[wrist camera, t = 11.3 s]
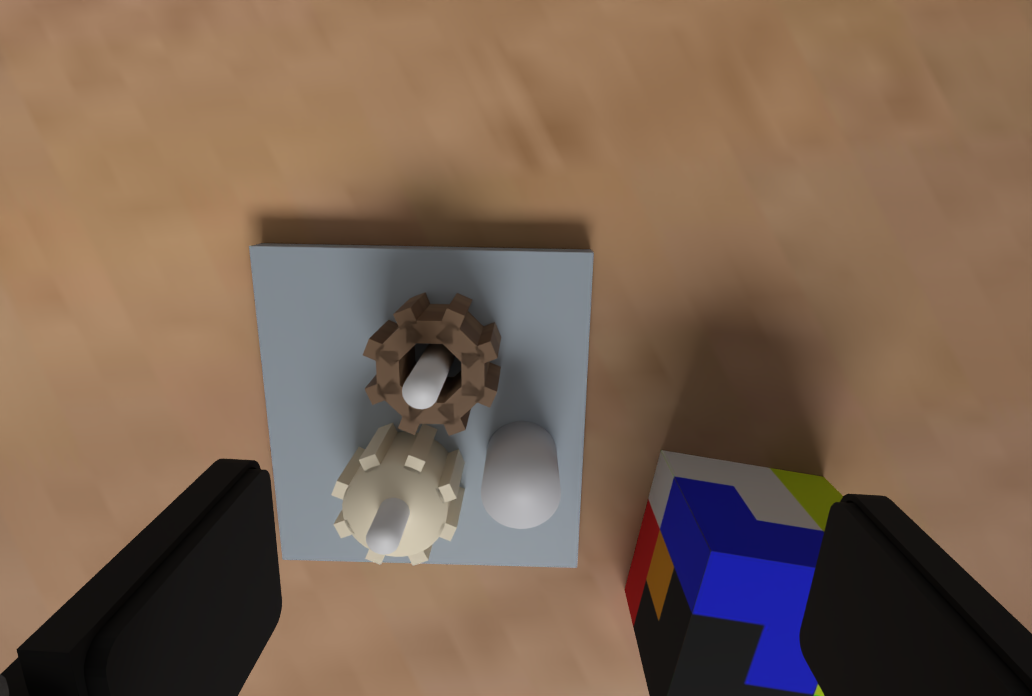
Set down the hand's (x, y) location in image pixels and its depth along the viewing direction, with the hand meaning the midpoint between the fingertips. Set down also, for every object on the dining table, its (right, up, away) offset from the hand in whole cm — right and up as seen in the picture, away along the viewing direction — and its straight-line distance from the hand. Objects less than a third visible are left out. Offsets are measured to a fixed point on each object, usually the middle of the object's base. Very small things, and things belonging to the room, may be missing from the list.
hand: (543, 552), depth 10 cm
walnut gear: (-4, +3, +22) cm, 23 cm away
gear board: (-6, 0, +25) cm, 25 cm away
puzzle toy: (+12, -8, +27) cm, 31 cm away
